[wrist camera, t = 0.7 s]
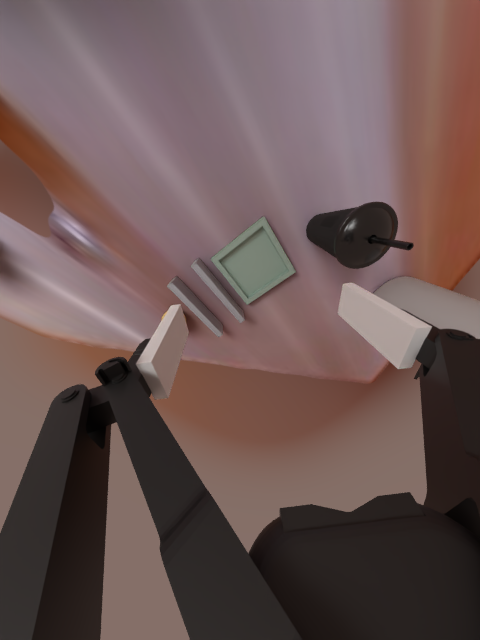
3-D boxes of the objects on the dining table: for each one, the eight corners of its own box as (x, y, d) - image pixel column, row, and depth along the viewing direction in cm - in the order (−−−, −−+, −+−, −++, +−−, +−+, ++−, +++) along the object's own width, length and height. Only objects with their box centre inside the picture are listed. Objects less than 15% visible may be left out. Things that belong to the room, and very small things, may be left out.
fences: (172, 279, 38) (166, 286, 34) (198, 257, 36) (195, 262, 32) (219, 327, 44) (218, 337, 41) (243, 311, 43) (244, 320, 39)
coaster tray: (211, 257, 36) (210, 259, 35) (262, 216, 33) (264, 216, 32) (246, 302, 41) (247, 305, 40) (293, 269, 38) (295, 271, 37)
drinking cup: (299, 254, 37) (363, 291, 20) (297, 210, 33) (376, 209, 16) (337, 245, 36) (437, 276, 19) (341, 200, 33) (469, 189, 15)
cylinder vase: (387, 269, 40) (578, 337, 18) (431, 283, 42) (646, 358, 21) (354, 317, 46) (468, 413, 24) (394, 327, 48) (531, 422, 26)
